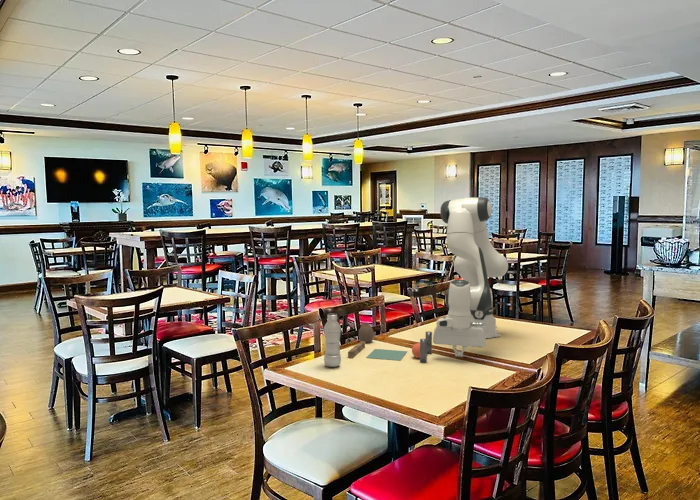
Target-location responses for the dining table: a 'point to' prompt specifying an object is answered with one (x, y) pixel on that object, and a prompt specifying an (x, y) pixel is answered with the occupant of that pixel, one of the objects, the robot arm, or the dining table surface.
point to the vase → (366, 333)
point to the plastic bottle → (332, 341)
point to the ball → (416, 350)
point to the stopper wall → (356, 349)
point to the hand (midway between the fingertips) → (459, 356)
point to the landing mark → (387, 354)
